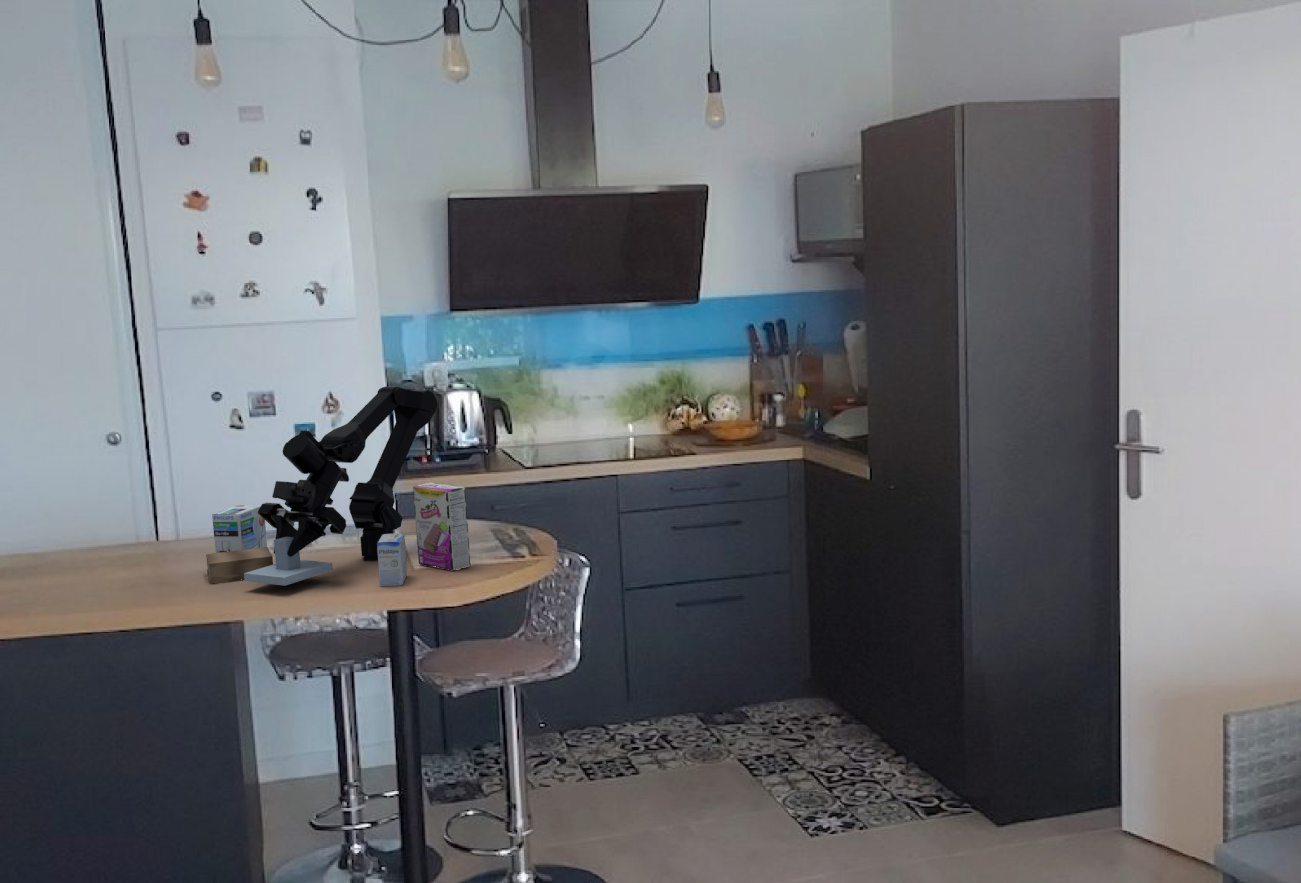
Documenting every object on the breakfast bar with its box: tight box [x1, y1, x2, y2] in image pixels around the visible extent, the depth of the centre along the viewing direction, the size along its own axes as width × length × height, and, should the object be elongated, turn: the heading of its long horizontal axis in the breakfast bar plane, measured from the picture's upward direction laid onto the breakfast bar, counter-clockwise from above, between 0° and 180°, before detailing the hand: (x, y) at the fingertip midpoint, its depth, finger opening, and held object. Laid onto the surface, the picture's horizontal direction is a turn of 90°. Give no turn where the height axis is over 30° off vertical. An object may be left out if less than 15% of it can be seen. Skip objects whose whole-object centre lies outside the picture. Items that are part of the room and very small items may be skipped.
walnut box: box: [205, 546, 274, 585], centre depth 259 cm, size 12×10×4 cm
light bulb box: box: [211, 504, 268, 553], centre depth 274 cm, size 11×7×11 cm, turn 168°
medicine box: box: [377, 533, 408, 588], centre depth 247 cm, size 8×4×9 cm, turn 5°
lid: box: [244, 537, 334, 586], centre depth 247 cm, size 13×11×7 cm
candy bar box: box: [412, 482, 471, 571], centre depth 257 cm, size 11×5×16 cm, turn 48°
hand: (282, 554), depth 246 cm, fingers closed on lid, 3 cm apart
